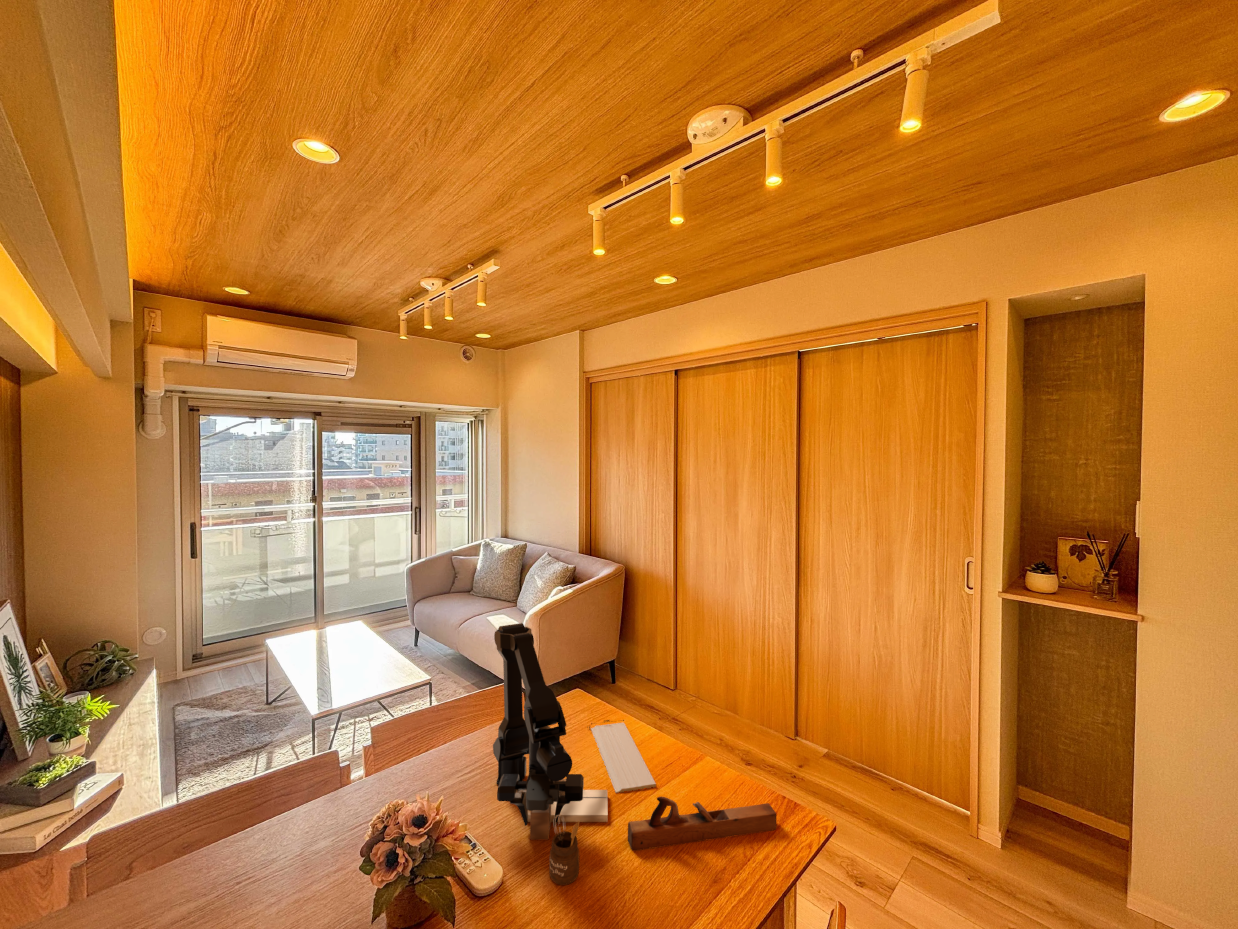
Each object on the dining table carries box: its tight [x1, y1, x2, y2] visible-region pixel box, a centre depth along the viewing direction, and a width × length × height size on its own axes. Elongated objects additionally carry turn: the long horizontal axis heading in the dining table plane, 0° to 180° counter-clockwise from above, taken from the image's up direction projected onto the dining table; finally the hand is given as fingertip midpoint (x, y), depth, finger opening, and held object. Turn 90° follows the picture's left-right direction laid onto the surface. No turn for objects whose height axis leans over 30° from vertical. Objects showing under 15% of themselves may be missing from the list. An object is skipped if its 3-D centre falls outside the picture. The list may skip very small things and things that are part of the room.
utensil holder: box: [549, 814, 580, 886], centre depth 105 cm, size 6×6×12 cm
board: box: [528, 789, 609, 823], centre depth 124 cm, size 19×9×2 cm, turn 92°
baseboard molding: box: [588, 719, 657, 794], centre depth 146 cm, size 31×3×12 cm
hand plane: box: [627, 796, 777, 852], centre depth 117 cm, size 34×5×10 cm, turn 105°
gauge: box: [529, 804, 552, 841], centre depth 121 cm, size 4×13×6 cm, turn 2°
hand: (540, 824), depth 117 cm, fingers open, 6 cm apart
